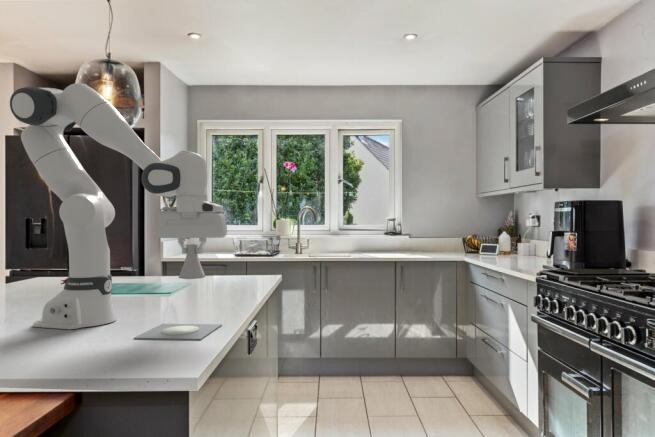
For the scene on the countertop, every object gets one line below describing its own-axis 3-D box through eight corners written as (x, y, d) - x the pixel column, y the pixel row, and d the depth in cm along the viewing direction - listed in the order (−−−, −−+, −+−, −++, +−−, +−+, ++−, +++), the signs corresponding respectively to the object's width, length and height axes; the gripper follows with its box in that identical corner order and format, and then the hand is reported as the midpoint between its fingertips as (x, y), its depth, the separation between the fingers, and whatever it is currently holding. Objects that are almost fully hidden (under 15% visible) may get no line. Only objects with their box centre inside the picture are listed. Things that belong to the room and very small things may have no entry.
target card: (133, 339, 117) (133, 336, 117) (162, 324, 133) (162, 322, 133) (200, 340, 115) (200, 337, 115) (221, 325, 131) (221, 323, 131)
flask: (194, 280, 128) (193, 245, 128) (173, 279, 131) (173, 244, 131) (209, 277, 135) (209, 243, 135) (190, 276, 137) (190, 243, 137)
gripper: (153, 206, 131) (153, 254, 130) (221, 205, 129) (222, 254, 129) (163, 207, 137) (163, 252, 137) (228, 206, 135) (228, 252, 135)
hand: (192, 253), depth 133 cm, fingers closed on flask, 3 cm apart
